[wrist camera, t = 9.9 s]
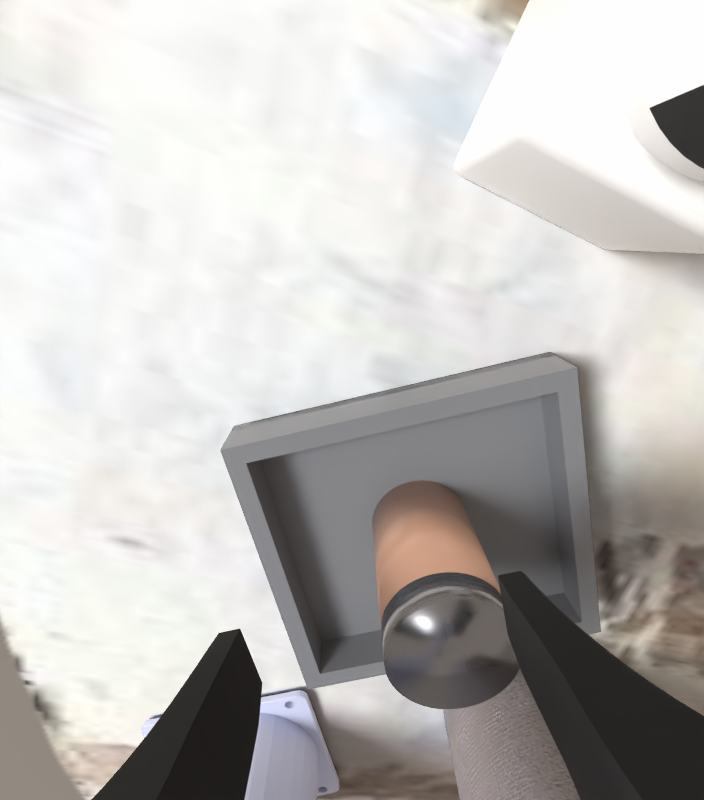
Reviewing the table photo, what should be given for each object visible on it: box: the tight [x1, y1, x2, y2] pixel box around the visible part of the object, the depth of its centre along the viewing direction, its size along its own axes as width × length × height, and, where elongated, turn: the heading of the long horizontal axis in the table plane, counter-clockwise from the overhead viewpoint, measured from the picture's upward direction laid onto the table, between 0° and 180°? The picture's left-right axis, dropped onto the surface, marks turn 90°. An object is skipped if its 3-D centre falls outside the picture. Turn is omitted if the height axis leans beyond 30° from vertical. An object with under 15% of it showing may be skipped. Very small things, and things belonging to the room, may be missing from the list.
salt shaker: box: [372, 481, 520, 709], centre depth 18 cm, size 4×4×8 cm
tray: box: [221, 352, 601, 689], centre depth 21 cm, size 14×13×2 cm
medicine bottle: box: [454, 0, 704, 254], centre depth 12 cm, size 7×7×12 cm
